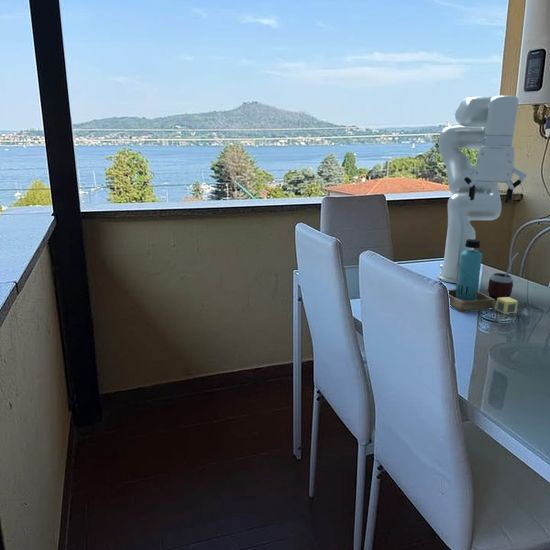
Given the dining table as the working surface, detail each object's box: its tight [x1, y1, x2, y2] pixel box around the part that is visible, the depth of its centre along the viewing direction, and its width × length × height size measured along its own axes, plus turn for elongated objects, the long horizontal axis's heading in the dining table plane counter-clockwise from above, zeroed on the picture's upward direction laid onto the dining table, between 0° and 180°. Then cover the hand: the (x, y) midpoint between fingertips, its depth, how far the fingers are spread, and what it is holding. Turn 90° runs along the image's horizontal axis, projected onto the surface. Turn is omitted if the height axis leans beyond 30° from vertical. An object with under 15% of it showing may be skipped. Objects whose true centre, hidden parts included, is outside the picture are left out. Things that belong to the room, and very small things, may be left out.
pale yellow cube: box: [495, 296, 519, 315], centre depth 138 cm, size 4×4×4 cm
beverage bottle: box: [455, 238, 483, 301], centre depth 142 cm, size 6×7×20 cm
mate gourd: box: [487, 252, 520, 300], centre depth 148 cm, size 8×8×15 cm
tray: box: [447, 288, 496, 313], centre depth 145 cm, size 12×12×3 cm
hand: (489, 201), depth 138 cm, fingers open, 9 cm apart
